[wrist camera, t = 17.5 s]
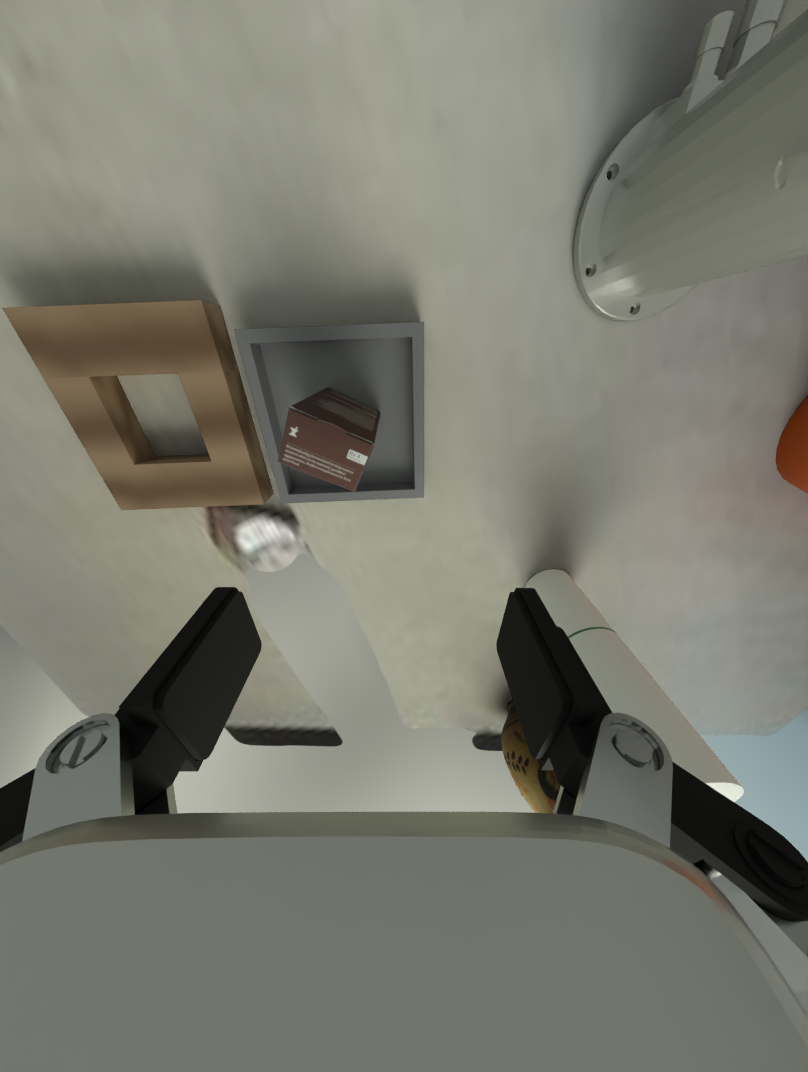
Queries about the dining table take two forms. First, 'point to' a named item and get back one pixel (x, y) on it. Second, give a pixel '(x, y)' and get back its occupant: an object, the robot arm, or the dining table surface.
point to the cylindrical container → (628, 679)
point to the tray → (358, 372)
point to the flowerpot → (795, 449)
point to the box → (330, 437)
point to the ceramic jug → (527, 767)
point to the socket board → (108, 419)
